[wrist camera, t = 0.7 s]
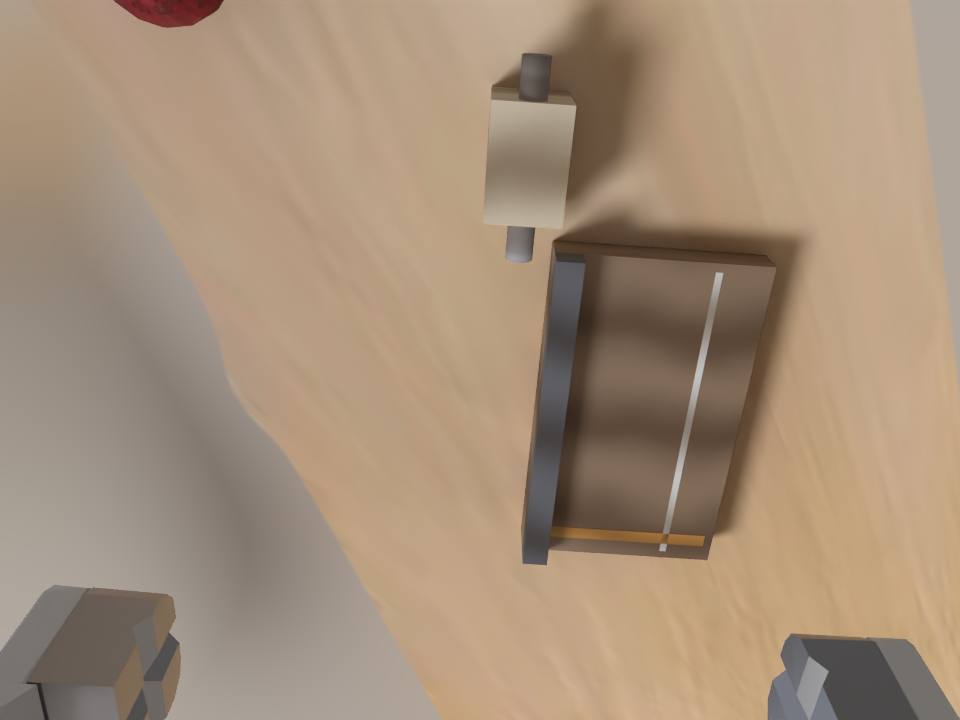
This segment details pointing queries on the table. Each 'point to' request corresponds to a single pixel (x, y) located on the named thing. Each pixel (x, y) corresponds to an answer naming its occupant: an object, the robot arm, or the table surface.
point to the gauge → (528, 156)
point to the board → (639, 397)
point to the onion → (171, 11)
